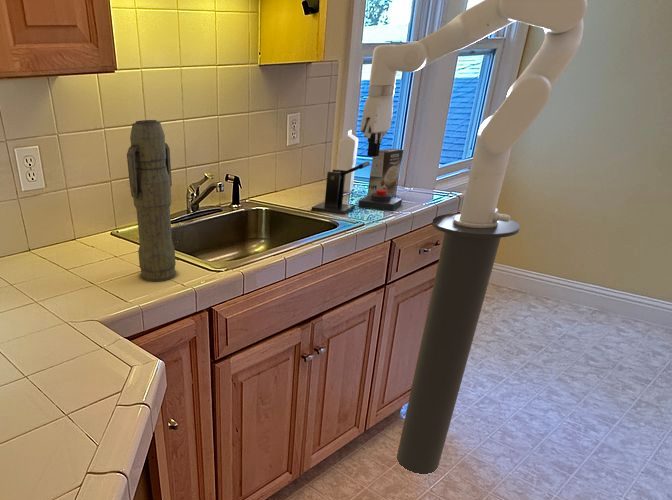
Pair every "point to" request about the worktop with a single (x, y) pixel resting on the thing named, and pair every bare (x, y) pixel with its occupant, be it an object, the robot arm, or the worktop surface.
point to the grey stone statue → (152, 199)
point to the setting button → (381, 192)
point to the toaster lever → (355, 168)
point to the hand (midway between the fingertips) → (372, 155)
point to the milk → (347, 158)
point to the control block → (380, 202)
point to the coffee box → (385, 171)
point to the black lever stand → (334, 195)
